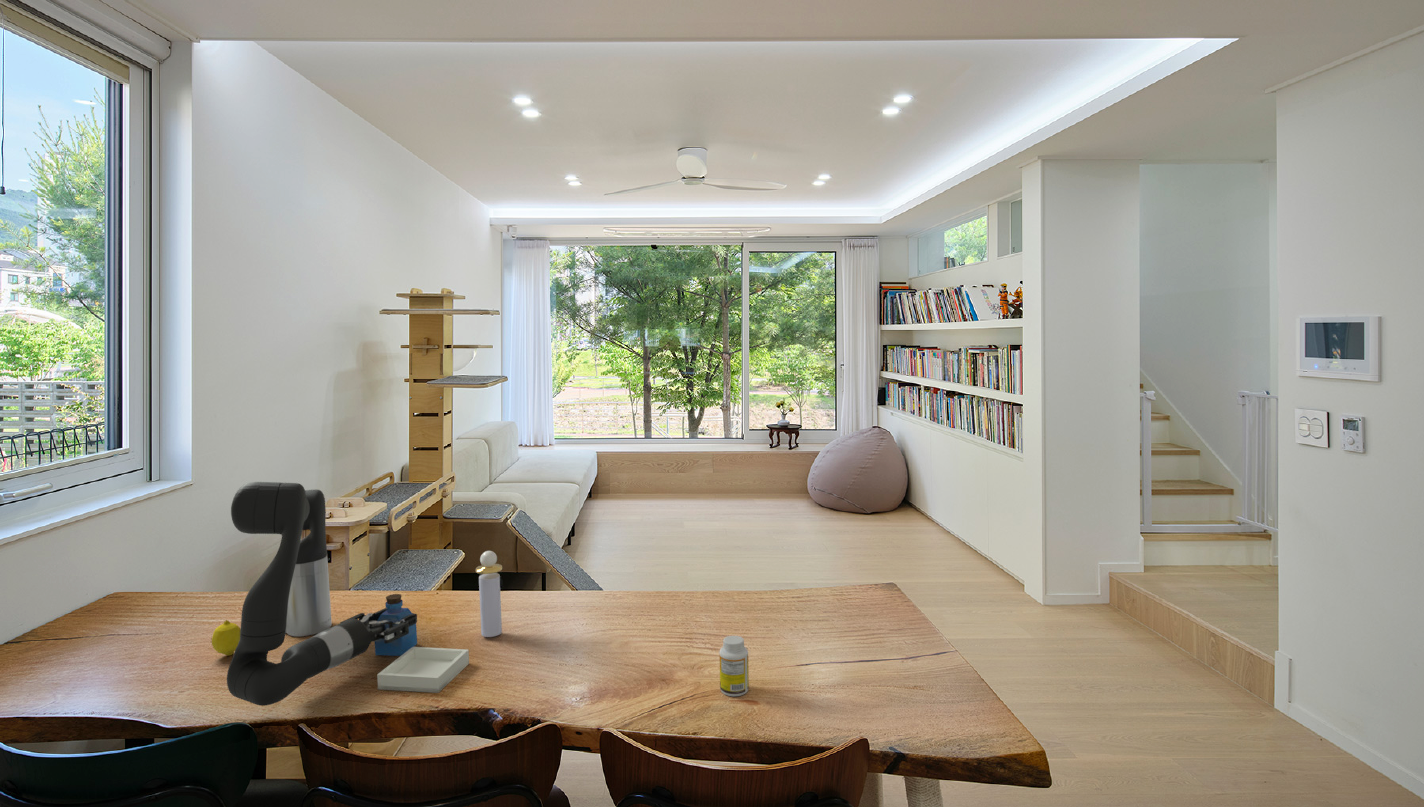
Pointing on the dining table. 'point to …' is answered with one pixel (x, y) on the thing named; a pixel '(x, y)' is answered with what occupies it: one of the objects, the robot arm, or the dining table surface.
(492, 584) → the perfume bottle
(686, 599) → the dining table surface
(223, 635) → the fruit
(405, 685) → the dish
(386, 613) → the perfume bottle
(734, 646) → the supplement bottle
